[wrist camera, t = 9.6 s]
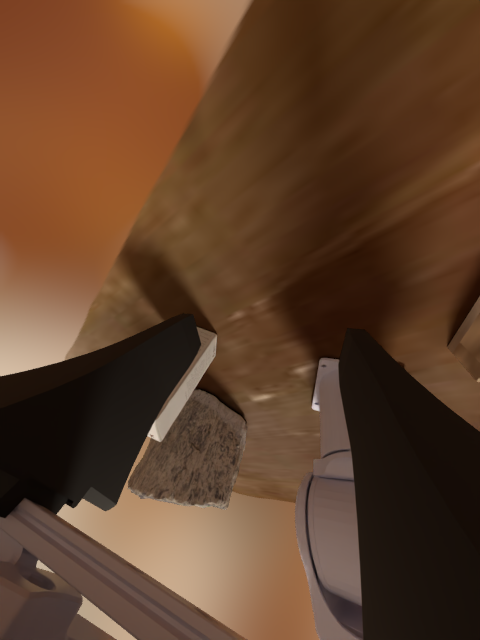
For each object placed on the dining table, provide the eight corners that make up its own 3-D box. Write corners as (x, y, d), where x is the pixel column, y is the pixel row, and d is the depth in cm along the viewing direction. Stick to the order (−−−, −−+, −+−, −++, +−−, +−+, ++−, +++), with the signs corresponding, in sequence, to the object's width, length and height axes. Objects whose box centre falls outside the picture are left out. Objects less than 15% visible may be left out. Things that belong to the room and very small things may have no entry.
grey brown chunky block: (232, 451, 44) (202, 546, 32) (168, 414, 44) (115, 495, 33) (270, 423, 32) (245, 555, 21) (182, 373, 33) (108, 476, 21)
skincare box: (217, 332, 24) (156, 422, 15) (216, 356, 27) (163, 445, 18) (176, 319, 26) (94, 395, 16) (178, 343, 28) (109, 420, 19)
